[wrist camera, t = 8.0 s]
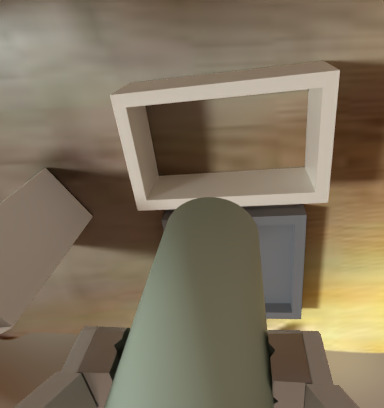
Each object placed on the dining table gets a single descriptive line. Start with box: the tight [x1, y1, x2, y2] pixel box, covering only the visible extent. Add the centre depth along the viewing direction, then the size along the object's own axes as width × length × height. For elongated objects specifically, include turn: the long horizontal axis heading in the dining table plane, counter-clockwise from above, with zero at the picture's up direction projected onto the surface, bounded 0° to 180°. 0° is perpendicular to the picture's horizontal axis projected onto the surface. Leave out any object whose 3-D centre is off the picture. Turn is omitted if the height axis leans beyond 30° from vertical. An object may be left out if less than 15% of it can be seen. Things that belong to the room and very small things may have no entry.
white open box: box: [110, 61, 340, 211], centre depth 27 cm, size 10×16×5 cm, turn 97°
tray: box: [161, 204, 307, 319], centre depth 36 cm, size 14×14×2 cm
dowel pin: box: [104, 197, 274, 408], centre depth 10 cm, size 4×4×12 cm
